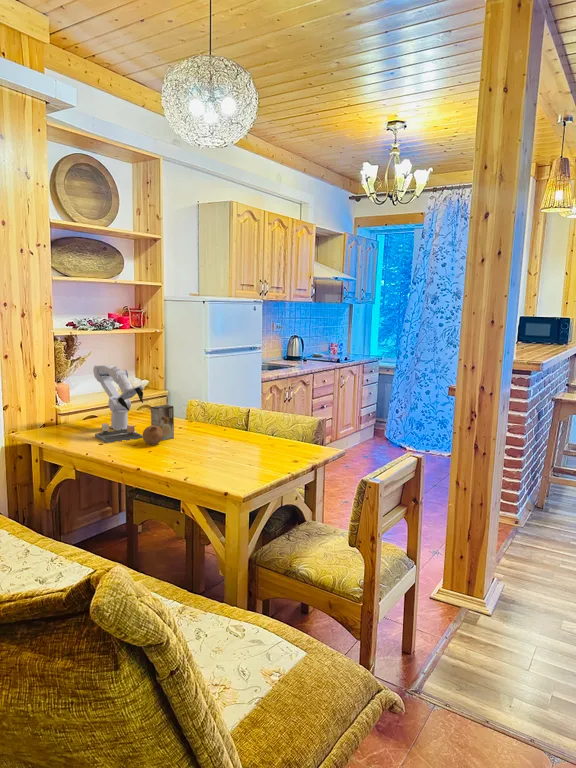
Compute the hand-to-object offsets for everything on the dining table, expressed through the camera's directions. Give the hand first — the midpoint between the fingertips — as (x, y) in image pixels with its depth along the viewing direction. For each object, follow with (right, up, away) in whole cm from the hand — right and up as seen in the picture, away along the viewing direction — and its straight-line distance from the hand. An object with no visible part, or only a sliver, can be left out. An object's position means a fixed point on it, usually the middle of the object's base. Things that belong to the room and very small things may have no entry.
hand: (135, 405), depth 262 cm
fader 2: (-1, -14, -4) cm, 15 cm away
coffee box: (+14, -16, -2) cm, 22 cm away
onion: (+12, -18, -12) cm, 24 cm away
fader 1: (-14, -14, -2) cm, 20 cm away
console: (-7, -16, -2) cm, 17 cm away
